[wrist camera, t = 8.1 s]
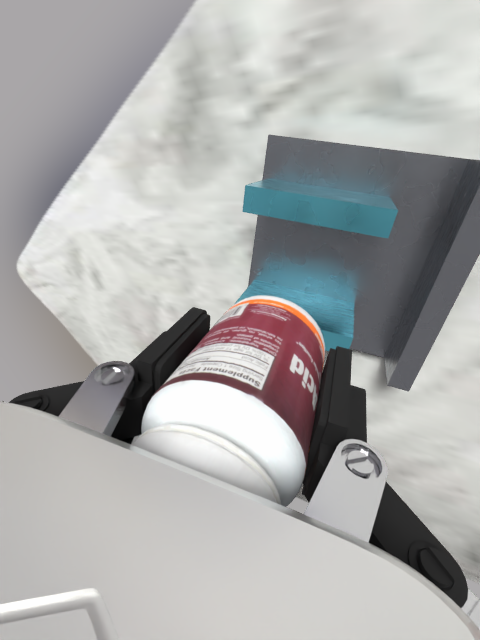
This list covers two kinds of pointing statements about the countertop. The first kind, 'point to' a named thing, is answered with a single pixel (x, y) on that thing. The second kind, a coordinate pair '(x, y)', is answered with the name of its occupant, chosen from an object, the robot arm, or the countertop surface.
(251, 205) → the holder
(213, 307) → the countertop surface
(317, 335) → the pill bottle
